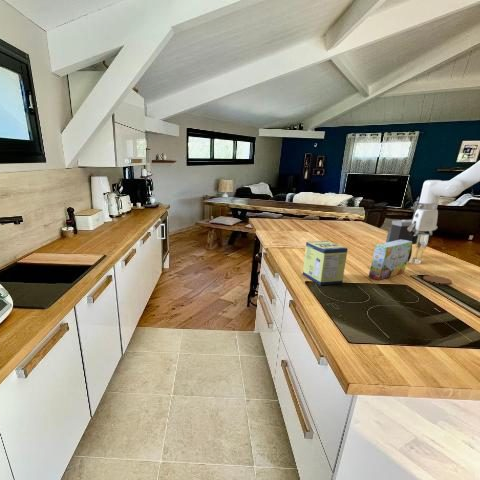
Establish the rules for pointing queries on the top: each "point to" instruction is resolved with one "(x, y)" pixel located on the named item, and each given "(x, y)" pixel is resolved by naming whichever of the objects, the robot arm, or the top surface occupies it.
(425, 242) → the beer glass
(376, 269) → the snack box
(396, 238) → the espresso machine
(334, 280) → the protein box
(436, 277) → the coaster
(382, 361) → the top surface
